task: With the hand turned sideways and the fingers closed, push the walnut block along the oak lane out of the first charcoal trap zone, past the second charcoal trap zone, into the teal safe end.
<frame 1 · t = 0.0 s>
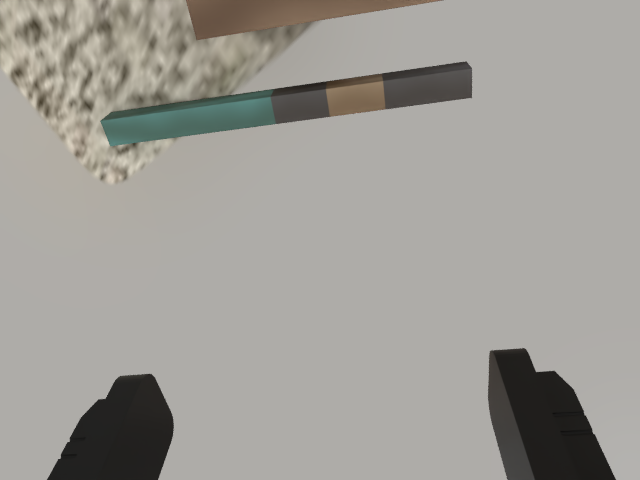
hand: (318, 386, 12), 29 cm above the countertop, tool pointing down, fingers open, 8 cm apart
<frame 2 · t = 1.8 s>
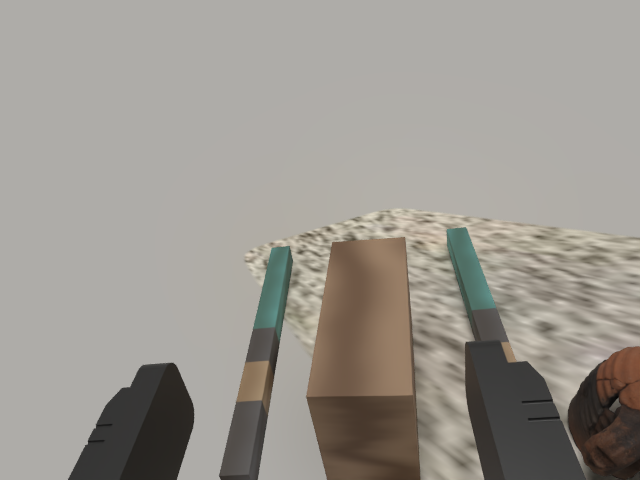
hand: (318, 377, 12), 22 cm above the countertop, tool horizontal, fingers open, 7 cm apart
lane: (373, 339, 44), on the countertop
walnut block: (376, 390, 40), on the countertop
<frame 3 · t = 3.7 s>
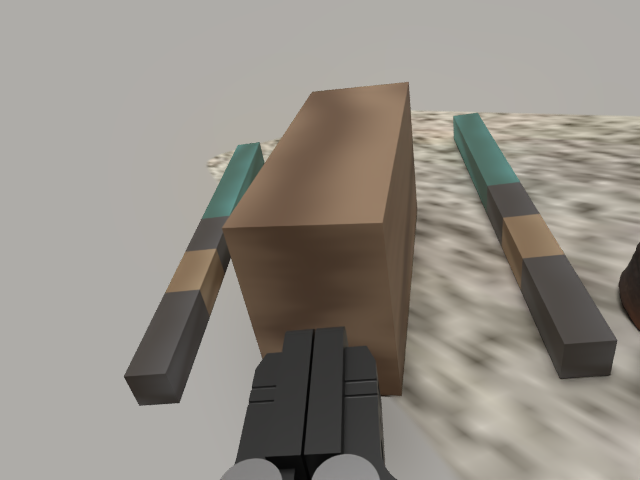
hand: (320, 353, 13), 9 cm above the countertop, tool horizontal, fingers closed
lane: (357, 230, 34), on the countertop
walnut block: (358, 283, 29), on the countertop
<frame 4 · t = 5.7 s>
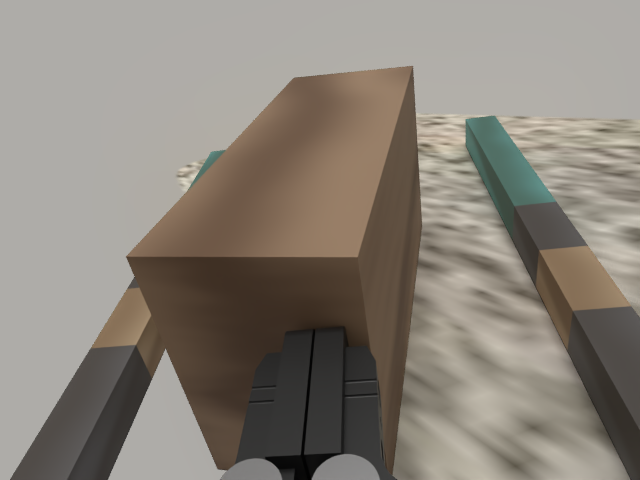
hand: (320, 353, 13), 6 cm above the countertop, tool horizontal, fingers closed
lane: (349, 260, 27), on the countertop
walnut block: (344, 318, 23), on the countertop, touching gripper
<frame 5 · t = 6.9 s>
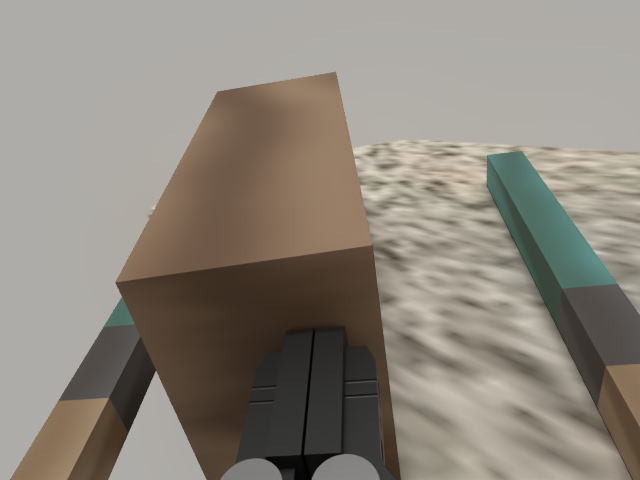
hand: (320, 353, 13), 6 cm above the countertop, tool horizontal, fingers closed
lane: (349, 351, 21), on the countertop
walnut block: (307, 324, 23), on the countertop, touching gripper
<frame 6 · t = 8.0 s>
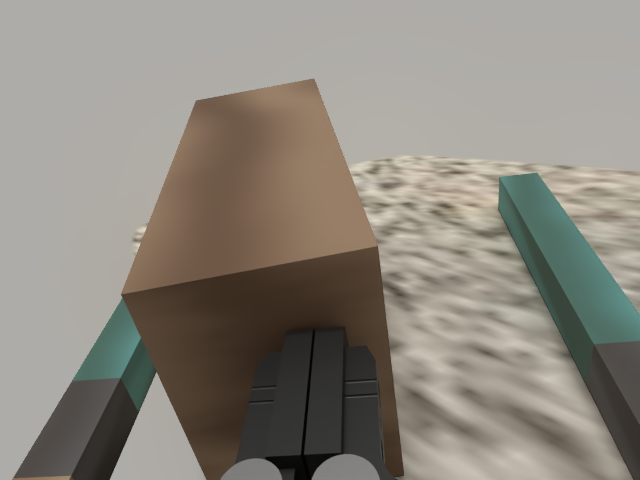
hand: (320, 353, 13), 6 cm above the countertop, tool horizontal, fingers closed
lane: (349, 410, 19), on the countertop
walnut block: (297, 330, 23), on the countertop
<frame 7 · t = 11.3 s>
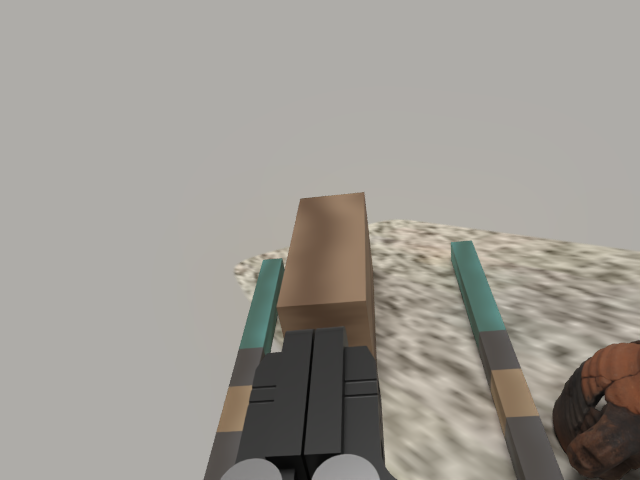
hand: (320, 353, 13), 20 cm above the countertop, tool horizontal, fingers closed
lane: (370, 362, 40), on the countertop
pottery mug: (630, 453, 31), on the countertop
walnut block: (341, 326, 45), on the countertop
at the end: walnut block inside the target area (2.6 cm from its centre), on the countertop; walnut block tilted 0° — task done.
